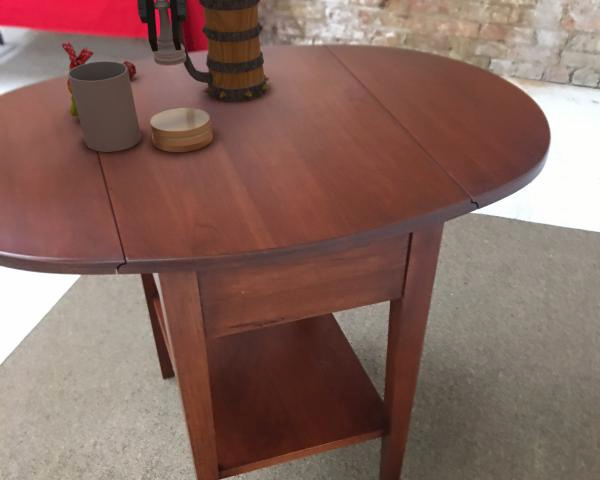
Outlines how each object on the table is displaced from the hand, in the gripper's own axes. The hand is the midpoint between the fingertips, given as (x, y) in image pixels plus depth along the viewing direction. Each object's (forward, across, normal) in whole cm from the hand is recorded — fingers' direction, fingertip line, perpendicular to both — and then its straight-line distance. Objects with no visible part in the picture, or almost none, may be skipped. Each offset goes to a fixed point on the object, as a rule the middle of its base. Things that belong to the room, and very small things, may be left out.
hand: (165, 44), depth 83 cm
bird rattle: (-3, +17, -24) cm, 30 cm away
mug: (-7, -6, -29) cm, 30 cm away
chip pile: (+6, 0, -15) cm, 16 cm away
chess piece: (0, 0, -5) cm, 5 cm away
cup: (+6, +11, -16) cm, 20 cm away
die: (-14, +11, -36) cm, 40 cm away
